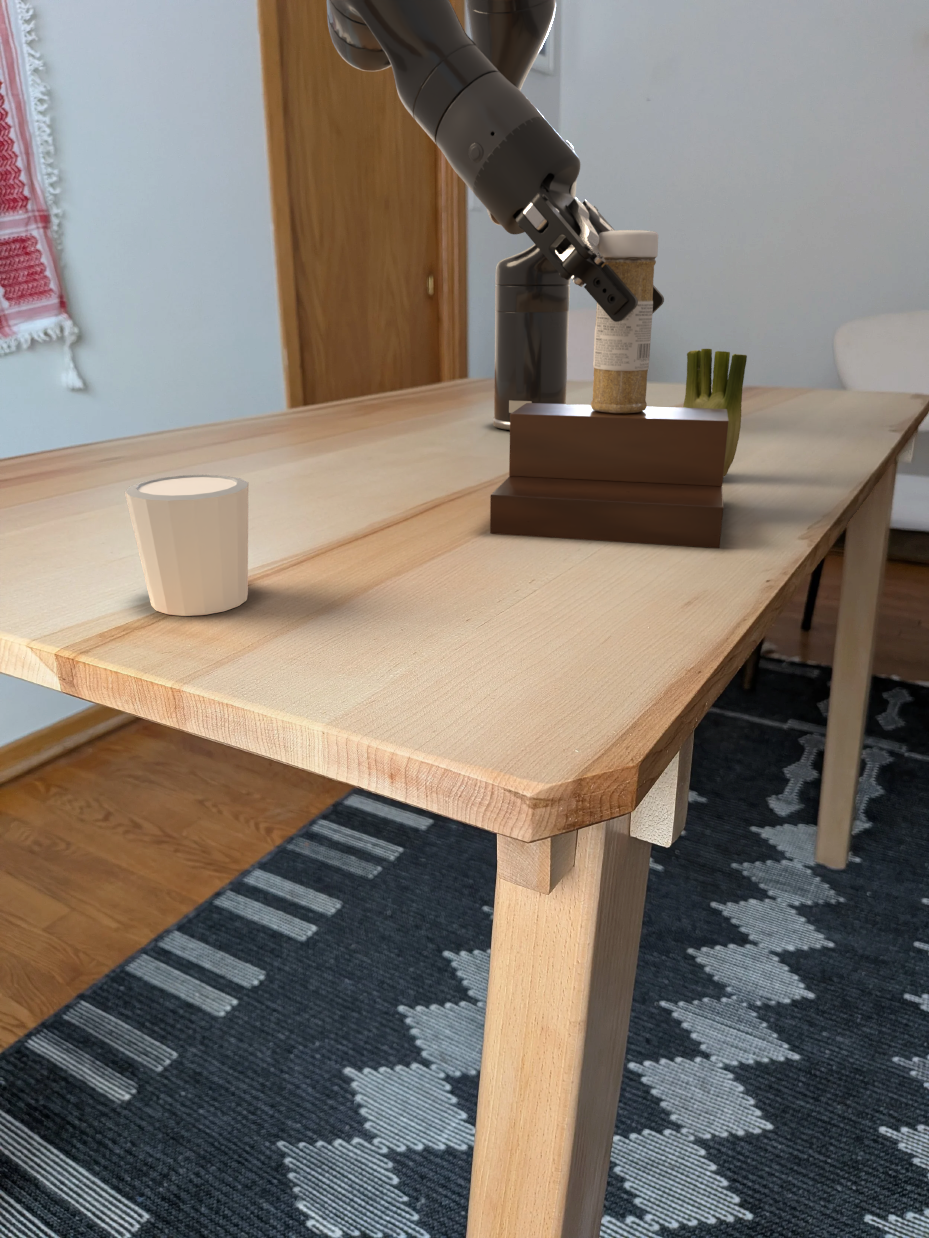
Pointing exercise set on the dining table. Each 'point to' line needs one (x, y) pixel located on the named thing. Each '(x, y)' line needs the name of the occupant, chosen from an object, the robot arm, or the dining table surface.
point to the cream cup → (192, 542)
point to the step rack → (614, 475)
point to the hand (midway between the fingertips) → (642, 311)
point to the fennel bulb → (717, 390)
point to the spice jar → (625, 325)
